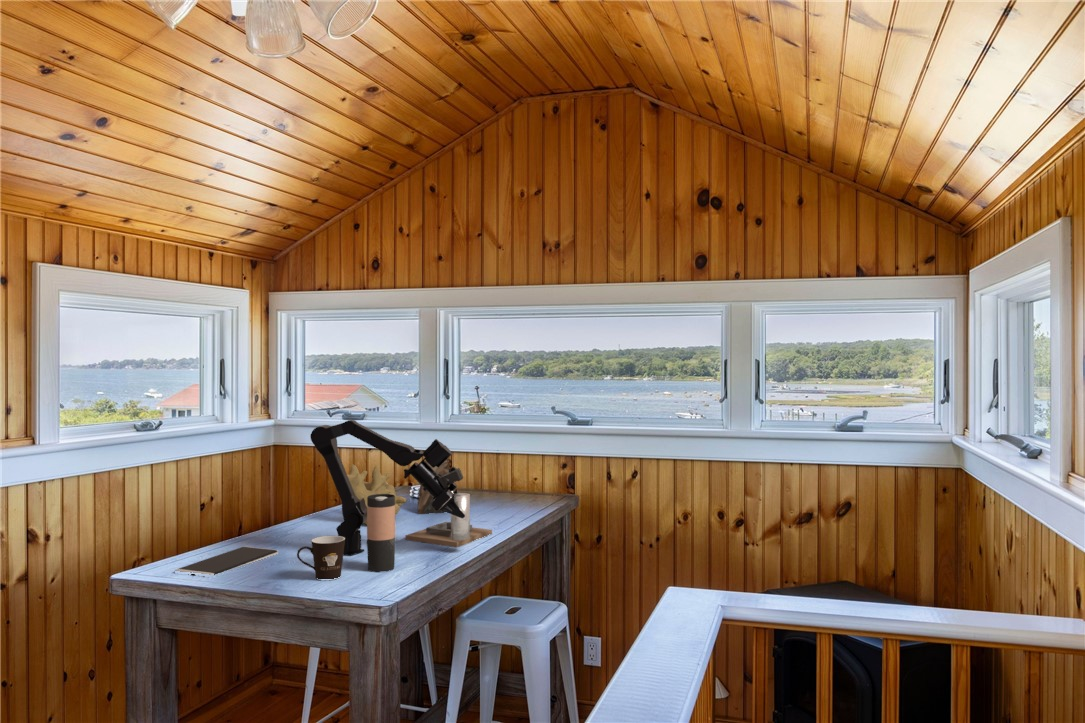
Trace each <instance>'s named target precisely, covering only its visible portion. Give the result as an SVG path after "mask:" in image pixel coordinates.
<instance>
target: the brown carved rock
mask: <svg viewBox="0 0 1085 723" xmlns="http://www.w3.org/2000/svg"><path fill="white" fill-rule="evenodd" d="M425 462H426V463H427V464H428V465H429V466H430V467H431V468H432V469H433V470H434V471H435V472H436V473H437V474H438V473H440V474H441V475H442V476H443V475H445V474H447V473H449V468H450V463H451V462H450V460H448V459H447V460H446V461H445V462H444V463H443V464H442V465H441V466H440V467H437V466H435V467H432V466H431V465H430V464H429V463H428V462H427V461H426V460H425ZM419 485H420V486H419V491H418V499H417V500H418V501H417V515H429V513H435V514H445V513H444V511H440V510H439V509H440V508H441V507H442V506H441V507H440V508H439V509H438V510H437V511H436V510H435V509H434V508H433V507H432V502H433V499H432V498H433V497H432V496H431V495H430V493H429V492H428V491H427V490H426V491H424V490H423V488H424V487H423V486H422V485H421V484H419Z"/></svg>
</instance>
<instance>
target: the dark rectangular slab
mask: <svg viewBox="0 0 1085 723" xmlns="http://www.w3.org/2000/svg"><path fill="white" fill-rule="evenodd" d="M276 554H277V555H279V550H278V549H272V548H262V547H253V546H241V547H238V548H235V549H233V550H230V551H226V552H224V553H220V554H218V555H215V556H212V557H209V558H205V559H202V560H200V561H197V562H196V561H195V562H194V563H191V564H188V565H185V566H181V567H179V568H176V569H175V570H174V572H175V571H180V572H190V573H192V572H193V573H201V574H209V575H214V574H218V573H222V572H224V571H227V570H231V569H233V568H236V567H240V566H242V565H245V564H249V563H252V562H255V561H258V560H261V559H263V560H265V559H264V558H266V559H268V558H267V557H269V558H271V557H270V556H272V557H274V556H277V555H276ZM273 555H274V556H273ZM261 561H262V560H261ZM258 562H259V561H258ZM255 563H256V562H255ZM252 564H253V563H252Z"/></svg>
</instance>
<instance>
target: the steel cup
mask: <svg viewBox="0 0 1085 723" xmlns="http://www.w3.org/2000/svg"><path fill="white" fill-rule="evenodd" d="M454 494H455V502H456V503H457V505H458V506H459V508H460V509H461V510H462V512H463V513H464V515H465V517H464V518H460V517H457V516H455V515H452V514H450V522H451V539H453V540H467V539H469V538H470V525H471V523H470V522H471V519H470V518H471V517H470V516H471V515H470V514H471V512H470V511H471V509H470V507H471V502H470V501H471V497H470V496H471V494H470V493H464V492H458V493H454ZM454 494H453V495H454ZM453 495H452V496H453Z"/></svg>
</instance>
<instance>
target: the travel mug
mask: <svg viewBox="0 0 1085 723" xmlns="http://www.w3.org/2000/svg"><path fill="white" fill-rule="evenodd" d="M366 546H367V547H366V549H367V552H366V553H367V570H368V571H369V570H370V571H369V572H372V571H377V572H376V573H380V572H379V571H386V572H390V571H394V569H395V562H396V560H395V558H396V556H395V555H396V553H395V552H396V515H395V496H394V495H392V494H375V495H370V496H368V497H367V525H366ZM389 570H390V571H389Z"/></svg>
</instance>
